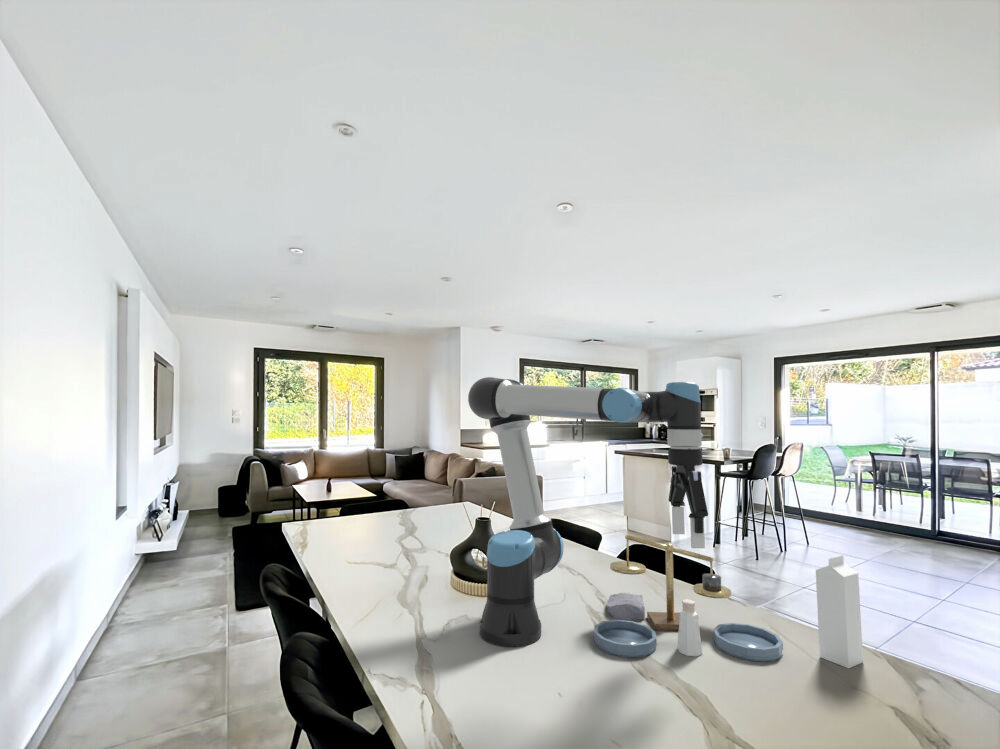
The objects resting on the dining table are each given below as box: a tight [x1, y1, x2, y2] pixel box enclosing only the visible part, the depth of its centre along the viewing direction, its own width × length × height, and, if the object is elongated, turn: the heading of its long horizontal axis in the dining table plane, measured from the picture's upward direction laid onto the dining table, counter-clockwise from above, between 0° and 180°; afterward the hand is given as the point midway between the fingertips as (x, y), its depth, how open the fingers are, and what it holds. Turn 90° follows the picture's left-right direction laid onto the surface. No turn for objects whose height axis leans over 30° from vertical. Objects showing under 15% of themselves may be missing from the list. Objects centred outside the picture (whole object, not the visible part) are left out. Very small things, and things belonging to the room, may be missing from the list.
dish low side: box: [712, 622, 784, 663], centre depth 116 cm, size 14×14×3 cm
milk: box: [815, 554, 864, 669], centre depth 111 cm, size 6×6×22 cm
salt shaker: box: [677, 598, 703, 658], centre depth 114 cm, size 5×5×11 cm
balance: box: [609, 534, 732, 632], centre depth 130 cm, size 30×9×22 cm, turn 87°
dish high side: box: [593, 619, 657, 659], centre depth 118 cm, size 14×14×3 cm
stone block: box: [606, 592, 646, 621], centre depth 138 cm, size 12×5×10 cm
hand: (687, 540), depth 116 cm, fingers open, 13 cm apart
